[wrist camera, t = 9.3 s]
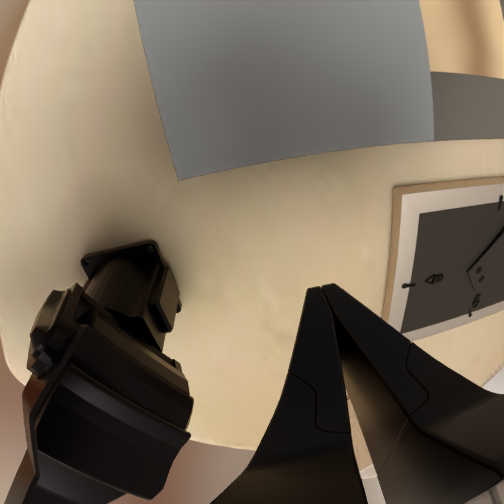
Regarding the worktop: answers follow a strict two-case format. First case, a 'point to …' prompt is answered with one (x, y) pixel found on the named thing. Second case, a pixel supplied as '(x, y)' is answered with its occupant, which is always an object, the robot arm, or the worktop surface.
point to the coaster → (464, 36)
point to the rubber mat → (467, 105)
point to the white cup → (360, 446)
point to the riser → (285, 78)
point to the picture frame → (445, 255)
